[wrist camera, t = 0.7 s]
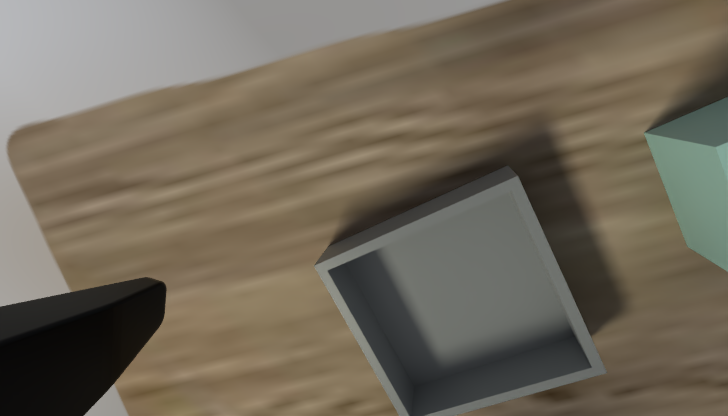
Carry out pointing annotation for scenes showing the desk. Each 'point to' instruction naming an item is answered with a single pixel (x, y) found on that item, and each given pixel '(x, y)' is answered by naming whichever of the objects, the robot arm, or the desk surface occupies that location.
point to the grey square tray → (461, 302)
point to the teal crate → (697, 176)
